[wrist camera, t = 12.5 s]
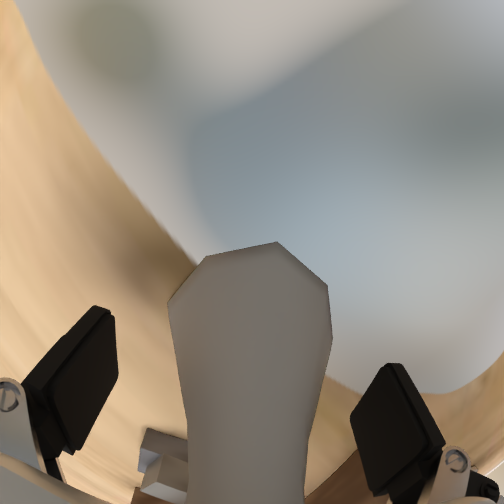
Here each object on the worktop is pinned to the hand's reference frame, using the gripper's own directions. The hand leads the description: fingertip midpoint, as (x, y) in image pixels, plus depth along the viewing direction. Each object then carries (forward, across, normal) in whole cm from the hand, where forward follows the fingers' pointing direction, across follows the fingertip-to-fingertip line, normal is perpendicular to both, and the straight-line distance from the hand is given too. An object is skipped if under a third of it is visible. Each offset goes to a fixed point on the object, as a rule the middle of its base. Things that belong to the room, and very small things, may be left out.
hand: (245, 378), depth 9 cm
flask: (+4, 0, 0) cm, 4 cm away
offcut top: (+2, 0, +14) cm, 14 cm away
